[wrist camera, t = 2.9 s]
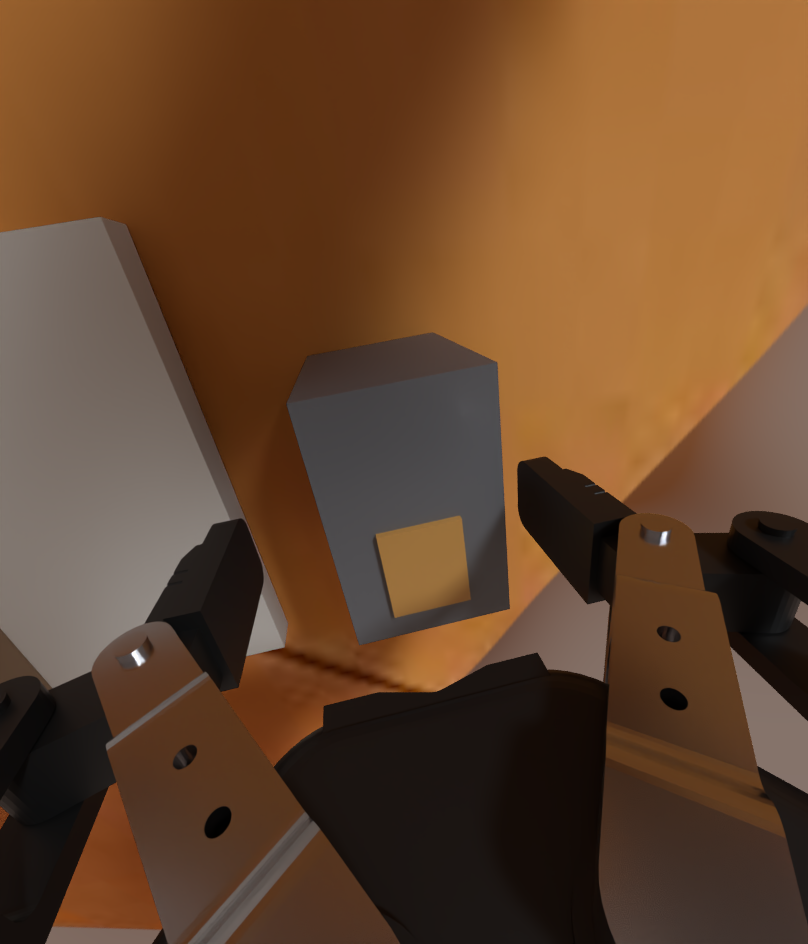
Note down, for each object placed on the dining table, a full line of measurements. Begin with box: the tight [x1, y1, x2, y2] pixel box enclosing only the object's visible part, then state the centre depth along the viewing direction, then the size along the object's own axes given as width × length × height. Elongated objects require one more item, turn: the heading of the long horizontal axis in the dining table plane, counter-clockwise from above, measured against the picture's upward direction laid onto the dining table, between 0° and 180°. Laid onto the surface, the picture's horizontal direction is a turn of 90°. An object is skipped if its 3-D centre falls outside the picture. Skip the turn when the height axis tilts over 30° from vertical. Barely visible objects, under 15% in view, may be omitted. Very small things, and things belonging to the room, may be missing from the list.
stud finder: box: [286, 332, 510, 645], centre depth 14 cm, size 5×8×7 cm, turn 9°
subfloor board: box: [0, 217, 288, 690], centre depth 15 cm, size 16×22×2 cm
